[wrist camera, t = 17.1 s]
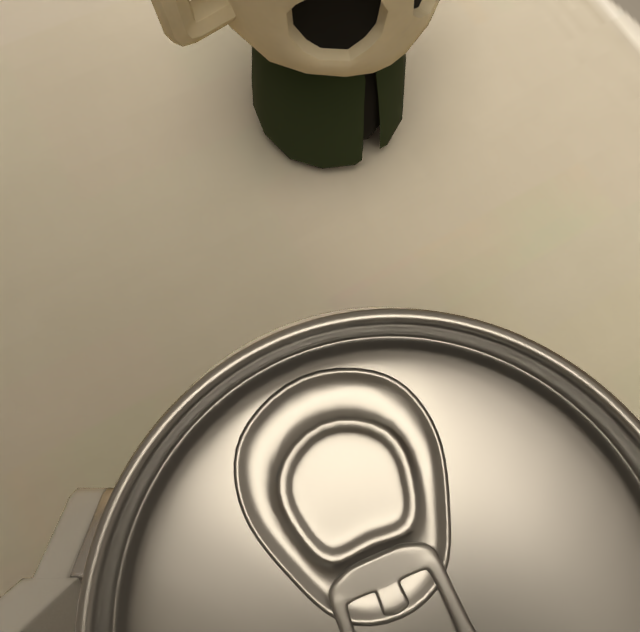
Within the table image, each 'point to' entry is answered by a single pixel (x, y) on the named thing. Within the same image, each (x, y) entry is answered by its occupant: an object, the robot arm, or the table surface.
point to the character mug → (315, 66)
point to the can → (377, 490)
